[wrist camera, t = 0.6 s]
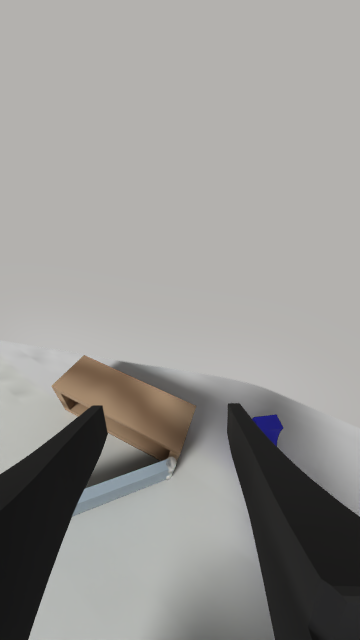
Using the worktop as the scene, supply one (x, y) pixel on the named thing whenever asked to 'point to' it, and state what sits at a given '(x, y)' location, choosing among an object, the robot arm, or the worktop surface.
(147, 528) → the worktop surface
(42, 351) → the worktop surface
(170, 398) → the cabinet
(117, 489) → the door
